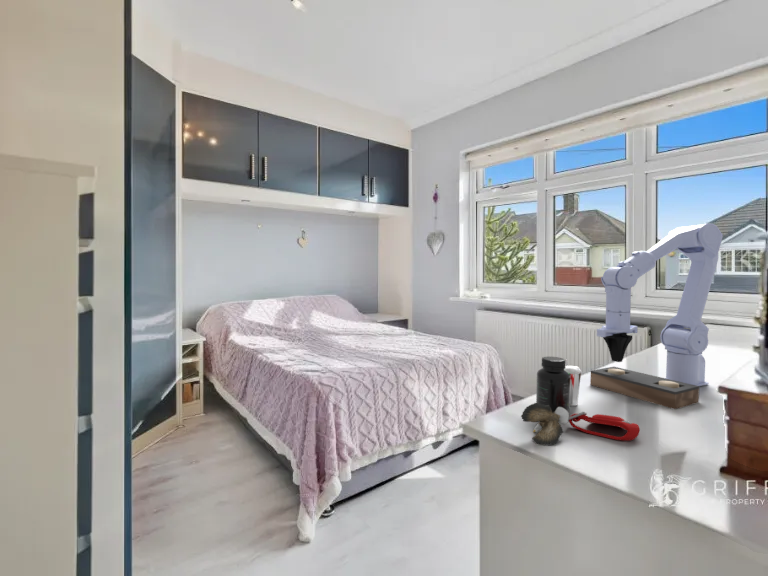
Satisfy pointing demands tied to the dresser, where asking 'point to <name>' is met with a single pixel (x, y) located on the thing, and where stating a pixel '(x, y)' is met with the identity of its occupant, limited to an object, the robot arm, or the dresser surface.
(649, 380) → the block
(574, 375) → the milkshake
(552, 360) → the supplement bottle
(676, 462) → the dresser surface
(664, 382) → the peg
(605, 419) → the tracker holder
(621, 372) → the peg
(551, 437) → the eagle figurine
